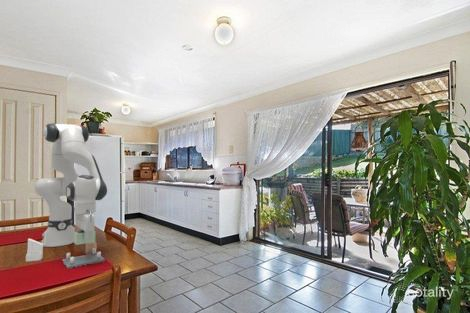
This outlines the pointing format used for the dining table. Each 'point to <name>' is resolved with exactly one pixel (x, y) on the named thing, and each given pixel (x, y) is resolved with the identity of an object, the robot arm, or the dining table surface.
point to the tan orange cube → (90, 247)
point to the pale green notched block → (80, 237)
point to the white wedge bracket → (34, 250)
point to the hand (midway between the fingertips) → (84, 238)
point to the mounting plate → (83, 259)
